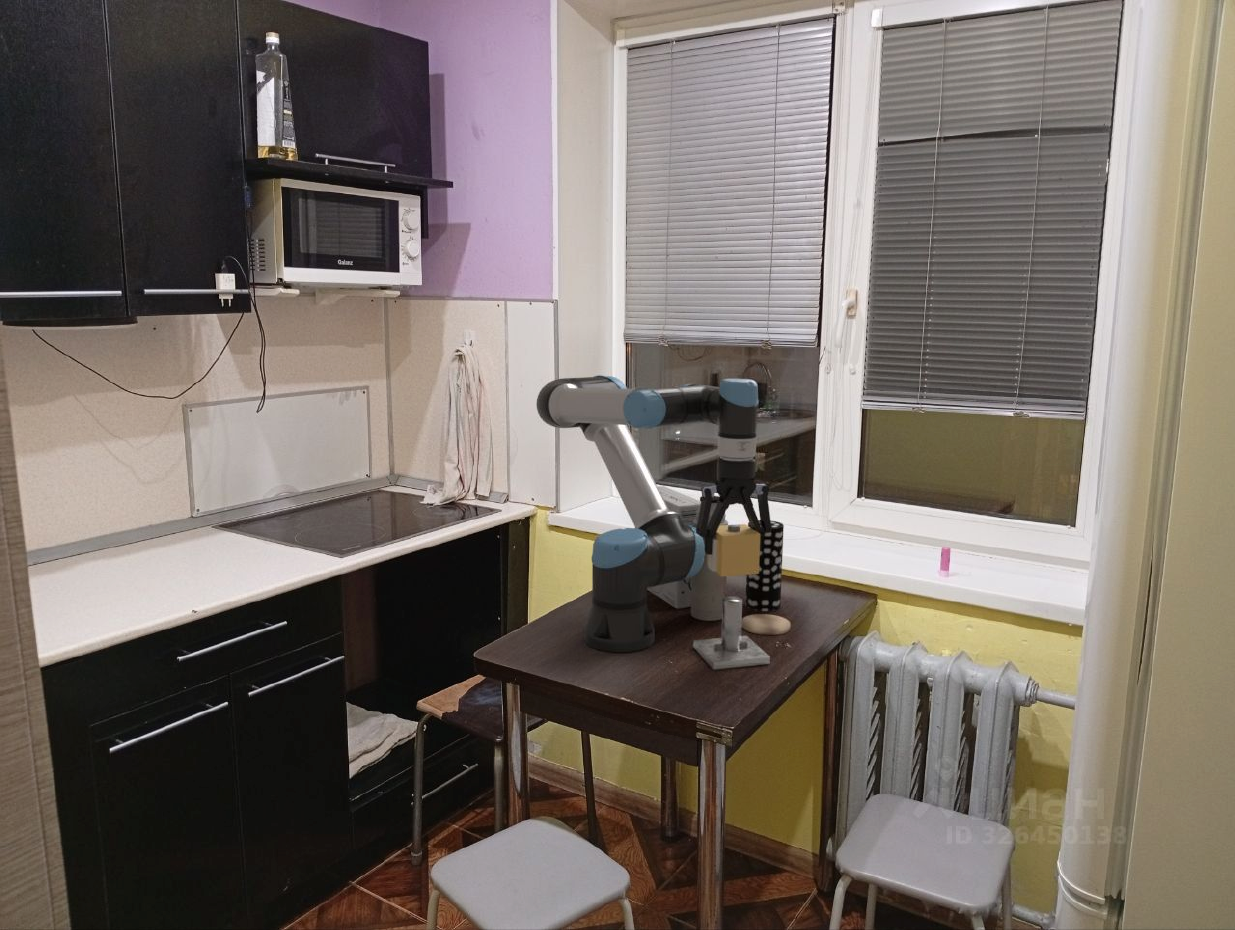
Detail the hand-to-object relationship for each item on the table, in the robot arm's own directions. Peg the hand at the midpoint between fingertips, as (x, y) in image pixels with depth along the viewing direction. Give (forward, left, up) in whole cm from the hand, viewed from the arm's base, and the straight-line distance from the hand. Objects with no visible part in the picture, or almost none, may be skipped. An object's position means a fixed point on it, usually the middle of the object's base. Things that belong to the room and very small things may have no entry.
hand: (732, 567), depth 186 cm
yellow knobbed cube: (0, 0, 0) cm, 0 cm away
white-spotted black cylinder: (+19, +27, -19) cm, 38 cm away
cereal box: (0, +40, -19) cm, 45 cm away
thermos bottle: (+4, +24, -19) cm, 31 cm away
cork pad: (+14, +14, -19) cm, 27 cm away
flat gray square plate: (0, 0, -19) cm, 19 cm away
